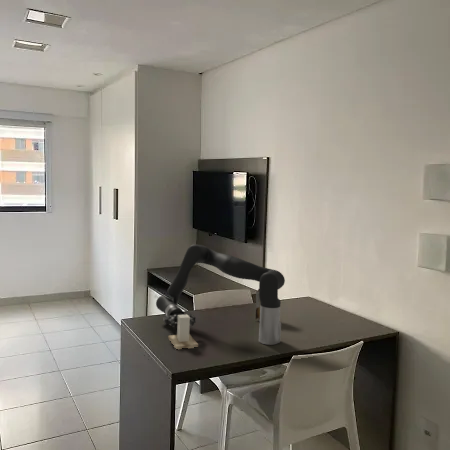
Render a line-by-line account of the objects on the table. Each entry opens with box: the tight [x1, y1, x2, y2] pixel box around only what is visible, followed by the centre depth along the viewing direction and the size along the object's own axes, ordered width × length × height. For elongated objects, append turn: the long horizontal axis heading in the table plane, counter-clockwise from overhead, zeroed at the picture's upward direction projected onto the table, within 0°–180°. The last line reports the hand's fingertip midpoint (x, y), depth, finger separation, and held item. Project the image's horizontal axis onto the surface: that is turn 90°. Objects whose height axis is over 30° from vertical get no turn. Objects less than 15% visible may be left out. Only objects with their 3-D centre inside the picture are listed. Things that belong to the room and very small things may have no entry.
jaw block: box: [176, 314, 191, 342], centre depth 213 cm, size 4×4×11 cm
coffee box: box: [254, 288, 260, 322], centre depth 251 cm, size 9×6×16 cm
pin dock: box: [167, 333, 199, 350], centre depth 214 cm, size 10×14×4 cm
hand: (183, 324), depth 212 cm, fingers open, 8 cm apart
